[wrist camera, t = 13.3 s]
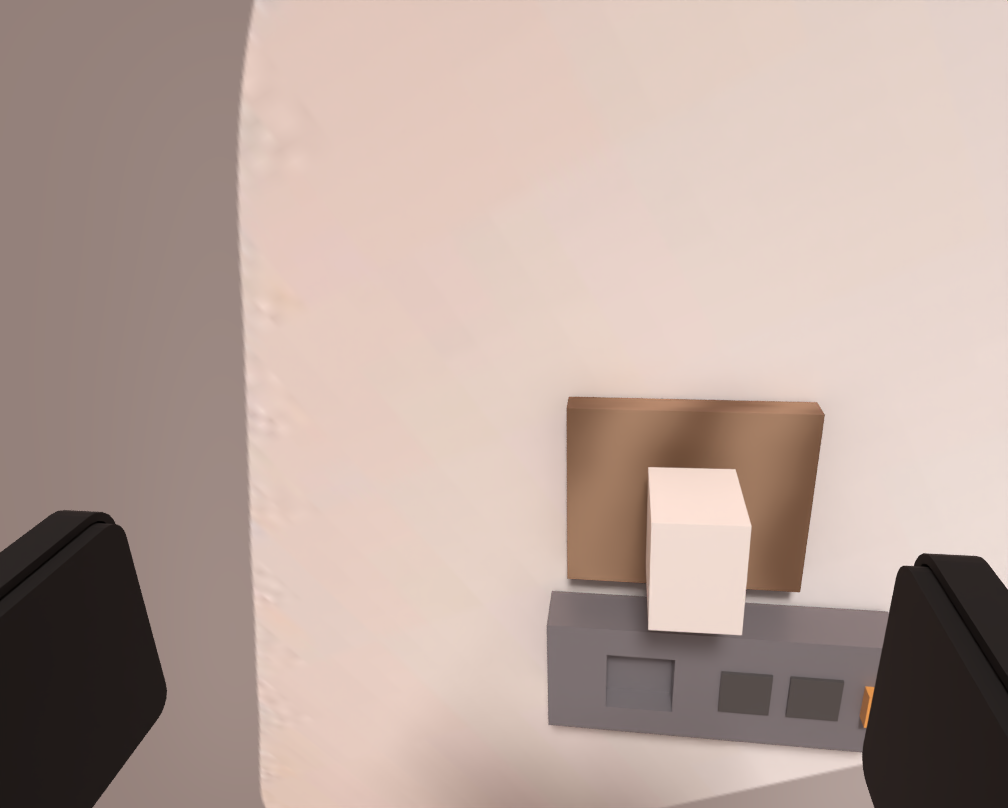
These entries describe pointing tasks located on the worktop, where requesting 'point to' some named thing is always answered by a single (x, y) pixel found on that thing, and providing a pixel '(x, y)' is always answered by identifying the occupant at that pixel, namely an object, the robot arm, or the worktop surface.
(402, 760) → the worktop surface
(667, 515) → the block
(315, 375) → the worktop surface
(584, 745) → the worktop surface
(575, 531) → the pad
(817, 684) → the power strip
